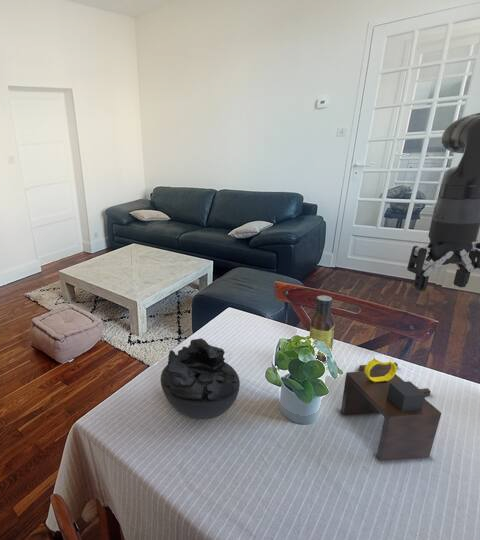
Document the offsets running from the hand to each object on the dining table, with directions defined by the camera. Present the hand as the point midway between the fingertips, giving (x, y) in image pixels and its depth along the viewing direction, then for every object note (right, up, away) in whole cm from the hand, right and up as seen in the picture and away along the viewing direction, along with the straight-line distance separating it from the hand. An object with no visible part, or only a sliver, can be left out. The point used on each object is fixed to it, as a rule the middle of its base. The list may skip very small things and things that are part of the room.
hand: (439, 287), depth 77 cm
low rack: (+1, -26, +15) cm, 31 cm away
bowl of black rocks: (-51, -33, +14) cm, 63 cm away
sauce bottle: (-10, -23, +29) cm, 38 cm away
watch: (-14, -21, 0) cm, 25 cm away
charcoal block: (-14, -24, -7) cm, 28 cm away
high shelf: (-13, -34, +1) cm, 36 cm away
